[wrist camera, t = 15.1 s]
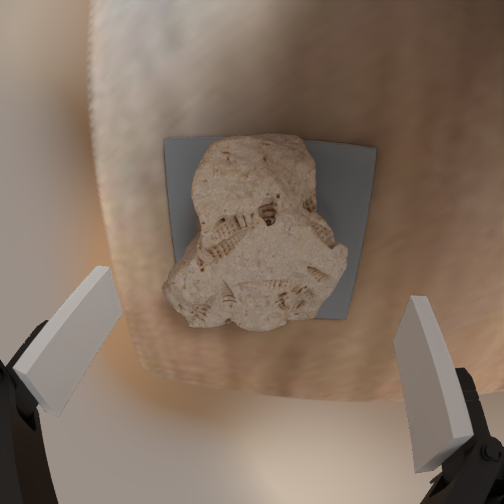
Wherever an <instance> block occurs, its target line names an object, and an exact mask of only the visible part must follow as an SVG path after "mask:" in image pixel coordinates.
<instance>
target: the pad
mask: <svg viewBox="0 0 504 504" xmlns="http://www.w3.org/2000/svg"><path fill="white" fill-rule="evenodd" d="M228 137H232V136H192V137H167V138H165V139H164V150H165V165H166V177H167V189H168V200H169V210H170V220H171V229H172V237H173V246H174V254H175V261H176V263H177V262H178V261H179V260H180V259H181V258H182V257H183V254H184V252H185V249H186V248H187V246H188V245H189V244H190V242H191V241H192V240H193V238H194V237H195V236H196V235H197V232H198V230H197V227H196V224H197V220H198V219H197V213H196V211H195V208H194V203H193V200H192V197H191V187H192V183H193V178H194V175H195V172H196V170H197V168H198V165H199V163H200V161H201V159H202V157H203V156H204V154H205V152H206V151H207V149H208V147H209V145H210V144H211V143H213V142H215V141H216V140H218V139H224V138H228ZM302 141H303V142H304V144H305V146H306V148H307V150H308V152H309V154H310V155H311V156H312V157H313V159H314V161H315V163H316V165H315V169H316V174H315V180H316V186H315V188H316V193H315V195H316V207H317V210H316V211H315V212H316V213H318V214H319V215H320V216H322V217H323V218H325V220H326V222H327V225H328V226H330V227H331V229H332V232H333V234H334V240H335V242H340V243H342V244H343V245H345V246H346V247H347V248H348V256H347V266H346V270H345V271H344V273H343V275H342V276H341V278H340V279H339V281H338V284H337V286H336V287H335V289H334V290H333V292H332V293H331V295H330V296H329V297H328V298H327V299H326V300H325V301H324V302H323V303H322V305H321V307H320V309H319V311H318V313H317V315H316V316H315V317H314V318H326V319H342V320H346V317H347V313H348V309H349V305H350V301H351V296H352V292H353V288H354V283H355V279H356V274H357V269H358V265H359V260H360V255H361V250H362V245H363V239H364V234H365V229H366V223H367V217H368V211H369V205H370V198H371V192H372V185H373V178H374V170H375V163H376V154H377V149H376V148H375V147H371V146H363V145H355V144H347V143H337V142H327V141H316V140H303V139H302Z"/></svg>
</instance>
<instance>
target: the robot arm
mask: <svg viewBox="0 0 504 504" xmlns="http://www.w3.org/2000/svg"><path fill="white" fill-rule="evenodd" d="M122 314H123V311H122V307H121V304H120V301H119V297H118V294H117V290H116V287H115V283H114V280H113V276H112V272H111V268H110V267H105V266H96V267H95V268H94V269H93V271H92V272H91V273H90V274H89V275H88V276H87V277H86V278H85V280H84V281H83V282H82V283H81V284H80V285H79V286H78V287H77V288H76V289H75V291H74V292H73V293H72V294H71V295H70V297H69V298H68V299H67V300H66V301H65V302H64V303H63V305H62V306H61V307H60V308H59V309H58V311H57V312H56V313H55V314H54V315H53V317H52V318H51V319H50V320H46V321H44V322H43V323H41V324H40V325H39V326H37V327H36V328H35V330H34V331H33V332H32V333H31V334H30V337H28V338H27V339H26V341H25V343H23V345H22V346H21V347H20V348H19V350H18V351H17V352H16V354H15V355H14V357H13V358H12V359H11V360H10V362H9V363H8V364H7V366H6V367H5V366H4V364H3V363H2V362H1V360H0V504H58V501H57V497H56V494H55V490H54V486H53V483H52V479H51V475H50V471H49V467H48V462H47V457H46V453H45V448H44V443H43V437H42V431H41V425H40V418H39V413H38V410H37V408H36V407H37V405H38V404H40V405H41V407H42V408H43V409H44V410H45V411H46V412H48V413H50V414H52V415H54V416H56V417H59V416H60V415H61V413H62V411H63V409H64V408H65V405H66V404H67V402H68V401H69V399H70V397H71V395H72V394H73V392H74V390H75V389H76V387H77V385H78V384H79V382H80V380H81V378H82V377H83V375H84V374H85V372H86V370H87V368H88V367H89V365H90V363H91V362H92V360H93V359H94V357H95V356H96V354H97V353H98V351H99V349H100V348H101V346H102V345H103V343H104V342H105V340H106V338H107V337H108V335H109V334H110V332H111V330H112V329H113V327H114V326H115V325H116V323H117V322H118V320H119V319H120V317H121V315H122ZM393 345H394V349H395V354H396V358H397V363H398V367H399V372H400V377H401V382H402V388H403V393H404V398H405V404H406V409H407V416H408V422H409V429H410V436H411V443H412V451H413V459H414V469H415V473H421V472H428V471H434V470H435V469H436V468H437V467H438V466H440V465H442V472H441V473H440V474H438V475H437V476H436V477H435V478H433V479H432V480H431V481H430V483H431V484H432V483H433V482H434V484H433V486H432V487H431V488H430V490H429V491H428V493H427V494H426V496H425V497H424V499H423V500H422V502H421V503H420V504H504V447H503V446H502V444H501V442H500V441H499V440H498V439H496V438H494V437H491V436H490V433H489V430H488V426H487V423H486V419H485V416H484V412H483V409H482V406H481V403H480V401H479V396H478V393H477V391H476V387H475V384H474V381H473V379H472V377H471V375H470V374H469V373H468V372H467V370H466V369H465V368H454V365H453V362H452V360H451V357H450V354H449V351H448V348H447V346H446V343H445V340H444V338H443V335H442V332H441V330H440V327H439V325H438V322H437V320H436V317H435V315H434V313H433V310H432V308H431V305H430V303H429V301H428V298H427V296H415V295H411V296H410V299H409V302H408V304H407V307H406V310H405V312H404V315H403V318H402V320H401V323H400V325H399V328H398V330H397V333H396V335H395V338H394V340H393Z"/></svg>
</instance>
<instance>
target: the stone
mask: <svg viewBox="0 0 504 504" xmlns="http://www.w3.org/2000/svg"><path fill="white" fill-rule="evenodd" d="M315 165H316V163H315V161H314V159H313V157H312V156H311V155H310V154H309V152H308V150H307V148H306V146H305V144H304V142H303V141H302V139H301V138H300V137H298V136H296V135H294V134H281V133H263V134H262V135H260V134H256V135H253V136H242V135H236V136H232V137H228V138H224V139H218V140H216V141H215V142H213V143H211V144H210V145H209V147H208V149H207V151H206V152H205V154H204V156H203V157H202V159H201V161H200V163H199V165H198V168H197V170H196V172H195V175H194V178H193V183H192V187H191V197H192V200H193V203H194V208H195V211H196V213H197V219H198V220H197V224H196V227H197V230H198V232H197V235H196V236H195V237H194V238H193V240H192V241H191V242H190V244H189V245H188V246H187V248H186V249H185V252H184V254H183V257H182V258H181V259H180V260H179V261H178V262H177V263H176V264H175V266H174V267H173V268H172V269H171V270H170V273H169V276H168V279H167V281H166V282H165V283H164V285H163V286H162V289H163V293H164V295H165V297H166V299H167V300H168V302H169V303H170V304H171V305H172V307H173V309H174V310H175V311H177V312H179V313H180V314H181V315H182V316H183V317H184V318H185V319H186V320H187V323H188V327H192V328H211V327H219V326H222V325H224V324H225V323H226V324H230V323H231V322H235V323H236V324H237V326H239V327H241V328H243V329H245V330H246V331H254V332H264V331H271V330H273V329H275V328H277V327H280V326H283V325H286V322H287V320H294V321H295V320H298V319H299V320H308V319H314V317H315V316H316V315H317V313H318V311H319V309H320V307H321V305H322V303H323V302H324V301H325V300H326V299H327V298H328V297H329V296H330V295H331V293H332V292H333V290H334V289H335V287H336V286H337V284H338V281H339V279H340V278H341V276H342V275H343V273H344V271H345V270H346V266H347V256H348V248H347V247H346V246H345V245H343V244H342V243H340V242H335V240H334V234H333V232H332V229H331V227H330V226H328V225H327V222H326V220H325V218H323V217H322V216H320V215H319V214H318V213H316V212H315V211H316V210H317V207H316V195H315V193H316V188H315V186H316V180H315V174H316V169H315Z"/></svg>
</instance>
